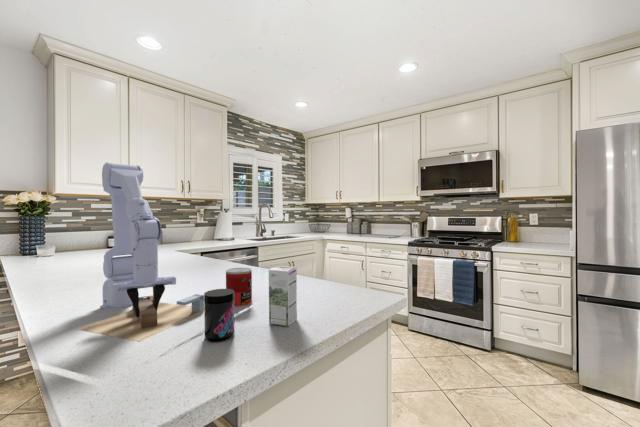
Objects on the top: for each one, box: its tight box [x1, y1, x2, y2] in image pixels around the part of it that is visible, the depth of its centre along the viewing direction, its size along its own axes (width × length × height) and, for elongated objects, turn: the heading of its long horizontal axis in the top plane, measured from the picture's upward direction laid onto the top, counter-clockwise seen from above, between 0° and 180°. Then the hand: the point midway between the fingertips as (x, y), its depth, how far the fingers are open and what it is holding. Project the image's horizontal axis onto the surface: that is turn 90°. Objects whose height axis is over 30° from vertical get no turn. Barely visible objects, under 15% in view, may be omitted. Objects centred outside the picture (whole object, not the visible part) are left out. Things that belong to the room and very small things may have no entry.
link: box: [131, 294, 157, 329], centre depth 82 cm, size 19×5×3 cm, turn 35°
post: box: [139, 295, 148, 301], centre depth 87 cm, size 2×2×4 cm
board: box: [76, 301, 204, 342], centre depth 80 cm, size 21×23×1 cm
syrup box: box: [268, 265, 298, 328], centre depth 79 cm, size 6×6×14 cm
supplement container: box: [203, 288, 235, 343], centre depth 70 cm, size 7×7×10 cm
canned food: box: [225, 267, 253, 307], centre depth 94 cm, size 8×8×11 cm
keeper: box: [176, 293, 204, 313], centre depth 83 cm, size 3×7×4 cm, turn 160°
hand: (146, 314), depth 81 cm, fingers closed on link, 3 cm apart
